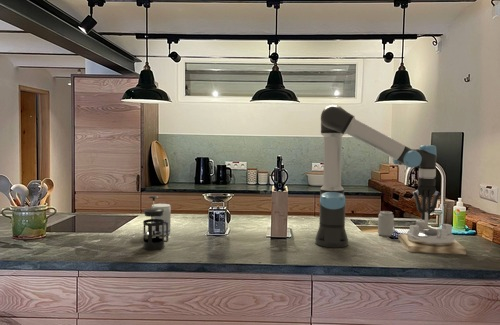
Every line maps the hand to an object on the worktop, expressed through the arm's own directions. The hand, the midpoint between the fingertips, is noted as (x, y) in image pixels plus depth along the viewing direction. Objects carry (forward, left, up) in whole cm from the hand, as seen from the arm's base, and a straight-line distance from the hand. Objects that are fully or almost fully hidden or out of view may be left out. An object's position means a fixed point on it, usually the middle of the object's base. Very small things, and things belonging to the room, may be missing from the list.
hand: (425, 226), depth 206 cm
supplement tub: (-129, -10, -8) cm, 129 cm away
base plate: (0, -8, -7) cm, 11 cm away
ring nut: (0, -8, -5) cm, 9 cm away
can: (-17, +10, -8) cm, 21 cm away
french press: (-123, -34, -8) cm, 128 cm away
